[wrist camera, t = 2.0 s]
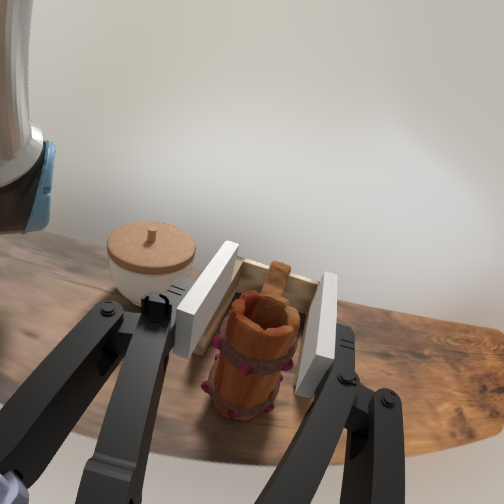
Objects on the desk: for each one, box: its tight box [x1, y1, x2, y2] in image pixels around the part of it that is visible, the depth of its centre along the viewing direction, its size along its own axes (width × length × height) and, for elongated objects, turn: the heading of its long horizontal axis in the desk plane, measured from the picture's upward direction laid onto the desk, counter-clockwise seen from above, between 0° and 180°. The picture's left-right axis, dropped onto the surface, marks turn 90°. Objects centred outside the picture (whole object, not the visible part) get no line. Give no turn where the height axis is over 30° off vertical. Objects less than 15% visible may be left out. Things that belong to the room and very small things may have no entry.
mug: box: [201, 261, 300, 420], centre depth 34 cm, size 15×8×15 cm, turn 165°
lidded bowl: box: [107, 222, 196, 307], centre depth 45 cm, size 13×13×11 cm
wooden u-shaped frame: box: [192, 256, 320, 386], centre depth 45 cm, size 15×16×6 cm
